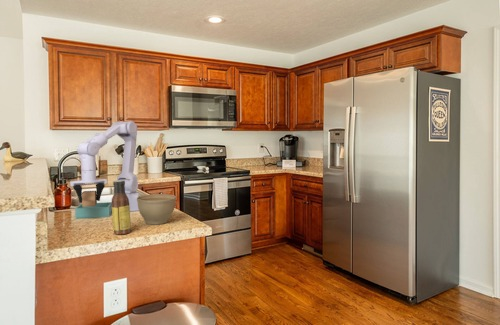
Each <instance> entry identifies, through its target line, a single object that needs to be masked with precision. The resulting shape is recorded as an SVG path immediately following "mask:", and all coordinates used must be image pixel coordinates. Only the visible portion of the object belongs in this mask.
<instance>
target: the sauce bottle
mask: <svg viewBox="0 0 500 325" xmlns="http://www.w3.org/2000/svg"><path fill="white" fill-rule="evenodd" d="M112 183H113V184H112V185H113V188H114V189H113V190H114V191H113V193H114V194H113V196H112V198H111V202H112V213H111V214H112V229H113V233H114V234H115V235H118V234H119V235H121V236H122V235H127V234H129V233H131V231H132V230H131V228H132V225H131V223H132V222H131V211H130V206H129V199H128V197H127V195H126V193H125V181H124V180H118V181H117V180H113V182H112Z"/></svg>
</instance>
